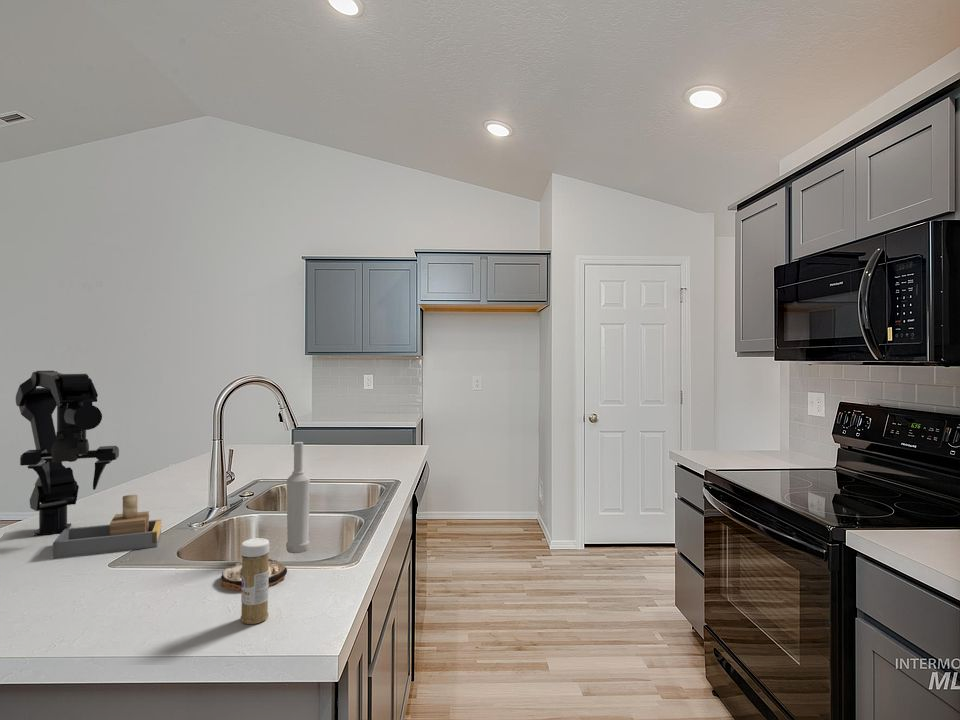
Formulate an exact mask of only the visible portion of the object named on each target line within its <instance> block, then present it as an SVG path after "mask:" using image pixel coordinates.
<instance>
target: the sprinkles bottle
mask: <svg viewBox="0 0 960 720" xmlns="http://www.w3.org/2000/svg"><path fill="white" fill-rule="evenodd" d="M269 552H270V540H269V539H266V538H263V537H257V538H250V539H246V540H244V541H243V542H242V543H241V545H240V554H241V559H242V561H241V562H242V563H241V564H242V590H241V597H240V598H241V601H240V602H241V615H240V622H241V623H243V624H245V625H256V624H258V623H262V622H264V621H266V620H267V619H268V617H269V612H268V608H269V587H268V581H269V569H268V559H269Z"/></svg>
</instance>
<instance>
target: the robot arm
mask: <svg viewBox="0 0 960 720" xmlns="http://www.w3.org/2000/svg"><path fill="white" fill-rule="evenodd" d="M15 394H16V395H15V404H16V407H18V408H19V412H20V415H21V416H22V417H23V418H24V419H26V420H27V421H29V422H30V426H31V432H32V436H33V441H34V446H35V449H29V450H26V451H24V452H23V453H22V454H21V455H20V458H19V461H20V462H19V465H20V466H27V469H28V470H29V469H31V470H33V471H34V472H36V474H37V475H38V477H37V478H36V481H35V483H34V488H33V491H32V493H31V496H30V498H29V506H30V507H29V508H30V509H32V510H33V511H35V512H38V521H39V522H38V529H36V531H34V536H40V535H49V534H61V533H62V532H63V531H64V529H68V528H71V527H72V523H68V506H72V505H73V506H74V505H76V504H77V501H78V493H79V488H80V486H79V484H78V482H77V481H76V479H75V477H74V471H73V469H72V468H71V466H70V467H69V466H68V467H66V466H64V465H63V462H70V463H72V462H76V461H77V460H78V459H79V460H81V459H94V458H95V459H96V461H95V462H94V472H93V473H94V474H93V480H92V489H93V490H94V491H96V489H97V487H98V485H99V482H100V478H101V477H102V474H103V471H104V469H105V467H106V465H109V464H111V463H112V462H113V461H115V460H117V459H118V458H119V455H120V449H119V447H118V446H117V445H104V446H98V448H97V449H93V450H92V449H90V444H89V439H88V438H87V431H90V430H93V429H96V428H97V427H98V426H99V425H100V424H101V422H102V419H103V413H102V411H101V410H100V409H99V408H98V407H97V406H96V405H93V403H95V402H96V403H97V402H98V396H99V395H98V391H97V390H96V387H95V384H94V382H93V380H92V378H90V376H89V375H88V374H87V373H61V372H58V371H55V370H36V371H33V372H32V374H31V376H30V377H29V378H28V379H27V380H25V381H24V382H22V383H21V384H20V385H19V386H18V389H17V391H16V393H15ZM55 410H56V429H55V423H54V420H53V413H54V411H55Z"/></svg>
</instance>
